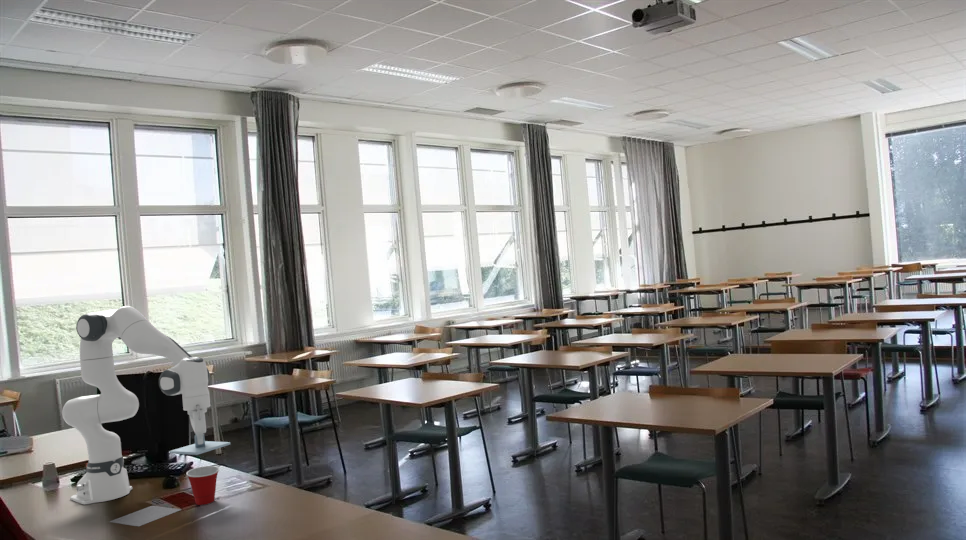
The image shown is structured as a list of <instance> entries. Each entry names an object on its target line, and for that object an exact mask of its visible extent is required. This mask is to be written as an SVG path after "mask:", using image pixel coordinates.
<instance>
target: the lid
mask: <svg viewBox="0 0 966 540" xmlns="http://www.w3.org/2000/svg"><path fill="white" fill-rule="evenodd" d="M229 445H230V446H231V442H230V441H229V442H228V441H210V440H209V441H208V440H206V439H205V433H203V444H200V445H198V443H197V435H196V434H195V435H194V443H193V444H189V445H186V446H183V447H182V446H181V447H179V448H175V449H172V450H169V454H173V455H174V454H176V455H177V454H179V455H195V456H198V455H201V454H205V453H207V452H211V451H213V450H217V449H220V448H223V447H227V446H229Z"/></svg>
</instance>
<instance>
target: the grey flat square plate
mask: <svg viewBox="0 0 966 540" xmlns="http://www.w3.org/2000/svg"><path fill="white" fill-rule="evenodd" d="M179 511H182V509H181V508H174V507H165V506H157V505H151V506H147V507H145V508H141V509H139V510H136V511H134V512H132V513H128V514H126V515H123V516H121V517H117V518H115V519H112V520H110V521H108V523H114V524H119V525H127V526H132V527H137V528H138V527H141V526H144V525H146V524H149V523H152V522H155V521H156V520H159V519H161V518H164V517H167V516H170V515H172V514H175V513H176V512H179Z"/></svg>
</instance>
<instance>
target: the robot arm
mask: <svg viewBox="0 0 966 540" xmlns="http://www.w3.org/2000/svg"><path fill="white" fill-rule="evenodd" d="M75 327H76V333H77V335H78V336H79V338H80V343H79V362H80V373H81V380H82V381H83V382H84V383H85V384H88V385H90V386H92V387H95V388H98V390H99V391H100V394H99V393H98V394H91V395H83V396H82V395H81V396H78V397H74V398H72V399H69V400H67V401H66V402H65V403H64V405H63V407H62V410H61V415H62V419H63V421H64V422H65V423H66V424H67V425H68V426H70V427H72V428H74V429H75V430H76V431H77V432H79V434H80V435H81V436H82V437H83V439H84V442H85V445H86V450H87V458H88V462H87V463H85V467H86V473H84V474H83V476H82V477H81V478H80V479H79V480H78V481H77V483H76V487H75V488H76V489H75V490H76V494H73V495H71V496H70V501H73V502H76V503H78V504H82V505H90V504H95V503H101V502H103V503H104V502H107V501H108V502H109V501H112V500H115V499H118V498H122V497H124V496H126V495H129V494H130V492H131V491H132V490H133V486H132V485H130V481H129V476H128V471H127V470H128V469H126V468H125V467H124V466H125V464H124V463H125V460H124V456H123V455H122V442H121V437H120V436H119V435H118V434H117V433H115V432H114V431H109V430H107V429H105V428H104V427H103V424H105V423H106V424H107V423H113V422H120V421H123V420H127V419H130V418H133V417H134V416H136V414H137V412H138V410H139V407H140V402H139V398H138V397H137V395H136V394H135V393H134V392H132V391H130V390H128V389H126V387H124V386H123V384H122V383H121V382H120V381H119V379H118V377H117V374H116V369H115V360H114V352H113V343H114V341H115V340H116V339H118V340H121V341H122V342H123V344H124V345H125V346H126V347H127V348H128V349H129V350H130V351H132V352H134V353H137V354H141V355H153V356H154V355H155V356H159V357H163V358H166V359H168V360H169V361H170V362H171V363H172V364H173V365H174V366H172V367H170V368H168V369H165V370H163V371H162V372H161V373H160V376H159V378H158V387H159V389H160V390H161V392H162V393H163V394H165V395H166V396H177V395H182V407H183V408H182V410H183V411H187V415H189V416H188V417H189V420H190V425H191V427H192V429H193V431H194V434H195V435H197V443H198V445H200V444H203V434H206V433H207V423H206V413H207V412H208V409H209V408H210V407H211V397H210V389H209V387H208V385H209V383H210V380H211V374H210V370H209V369H208V367H207V364H206V361H205V359H204V358H202V357H199V356H192V355H191V354H190V353H188V352H187V350H185V349H184V348H183V347H182V346H181V345H180V344H179V343H177V341H175V340H174V339H173V338H171V337H170V336H167V335H166V334H165V333H163V332H161V331H160V330H159V329H157V328H156V327H155V326H154V325H153V324H152V323H151V322H150V321H149V320H148V318H146V316H145V315H143V313H142V312H141V311H139V310H138V309H137V308H136V307H133V306H131V305H125V306H121V307H119V308H117V309H106V310H101V311H95V312H87V313H85V314H82V315H81V316H79V318H78V320H77V322H76V325H75Z"/></svg>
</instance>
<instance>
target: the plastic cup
mask: <svg viewBox="0 0 966 540" xmlns="http://www.w3.org/2000/svg"><path fill="white" fill-rule="evenodd" d="M219 471H220V467H219V466H215V465H206V466H198V467H195V468H192V469H189V470H187V471H186V476H187V477H188V480H189V483H190V487H191V492H192V494H193V498H194V501H195V504H196V505H197V506H203V505H204V506H206V505H209V504H211V503H214V502H215V499H216V487H217V478H218V473H219Z"/></svg>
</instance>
